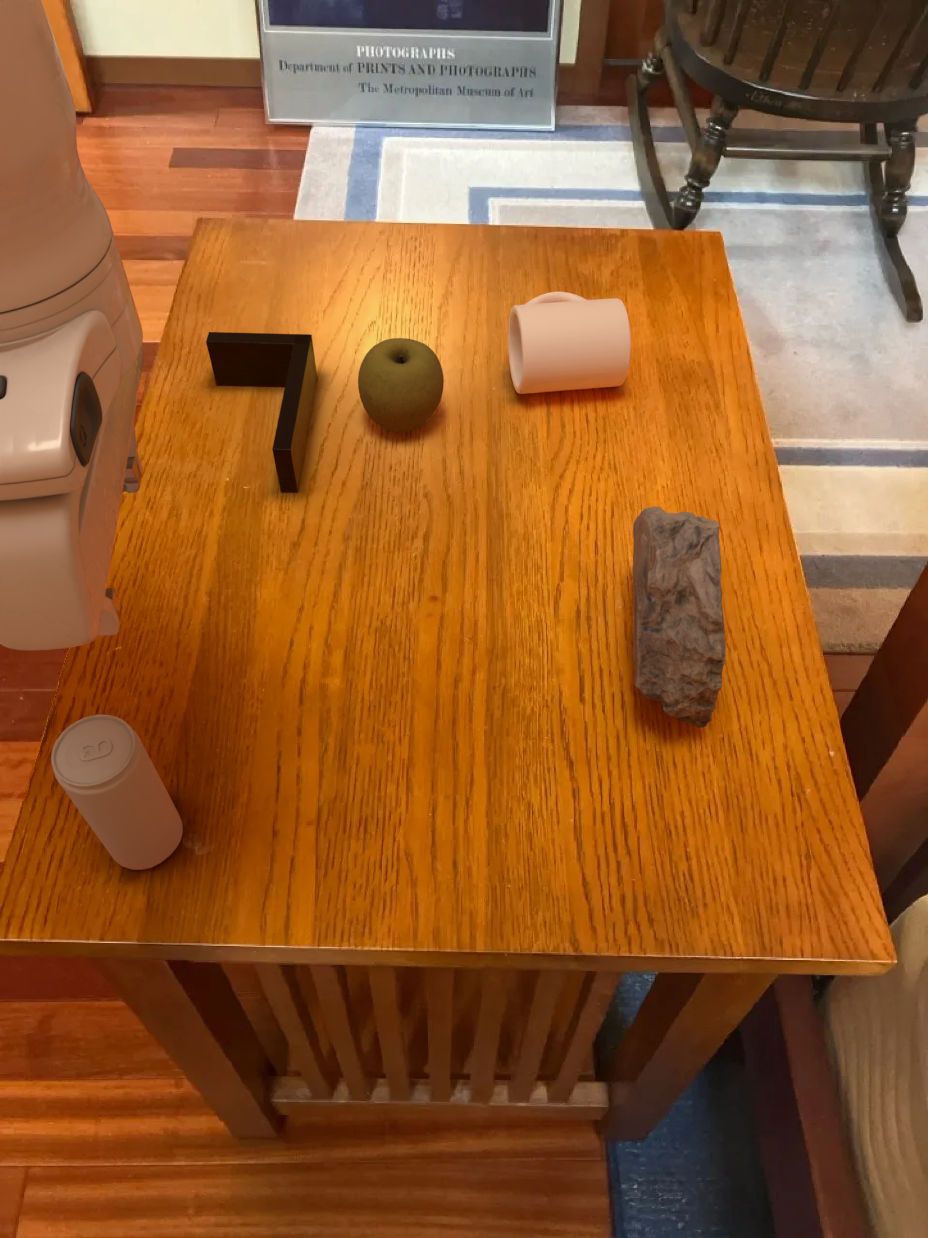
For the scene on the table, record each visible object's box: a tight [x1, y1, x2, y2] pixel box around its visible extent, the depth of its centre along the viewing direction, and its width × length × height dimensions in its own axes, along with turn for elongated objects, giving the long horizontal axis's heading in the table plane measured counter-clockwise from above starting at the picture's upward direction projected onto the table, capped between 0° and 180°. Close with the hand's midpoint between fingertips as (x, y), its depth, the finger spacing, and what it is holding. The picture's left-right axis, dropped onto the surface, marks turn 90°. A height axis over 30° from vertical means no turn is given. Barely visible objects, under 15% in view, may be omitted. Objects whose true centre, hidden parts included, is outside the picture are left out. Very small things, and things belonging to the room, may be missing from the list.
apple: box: [357, 337, 445, 433], centre depth 84 cm, size 8×8×7 cm
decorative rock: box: [632, 505, 727, 729], centre depth 65 cm, size 16×7×15 cm, turn 173°
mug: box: [507, 291, 632, 395], centre depth 88 cm, size 12×10×8 cm
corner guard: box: [205, 331, 318, 493], centre depth 83 cm, size 10×16×5 cm, turn 179°
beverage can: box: [50, 714, 184, 871], centre depth 56 cm, size 5×5×12 cm
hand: (116, 549), depth 47 cm, fingers open, 8 cm apart
